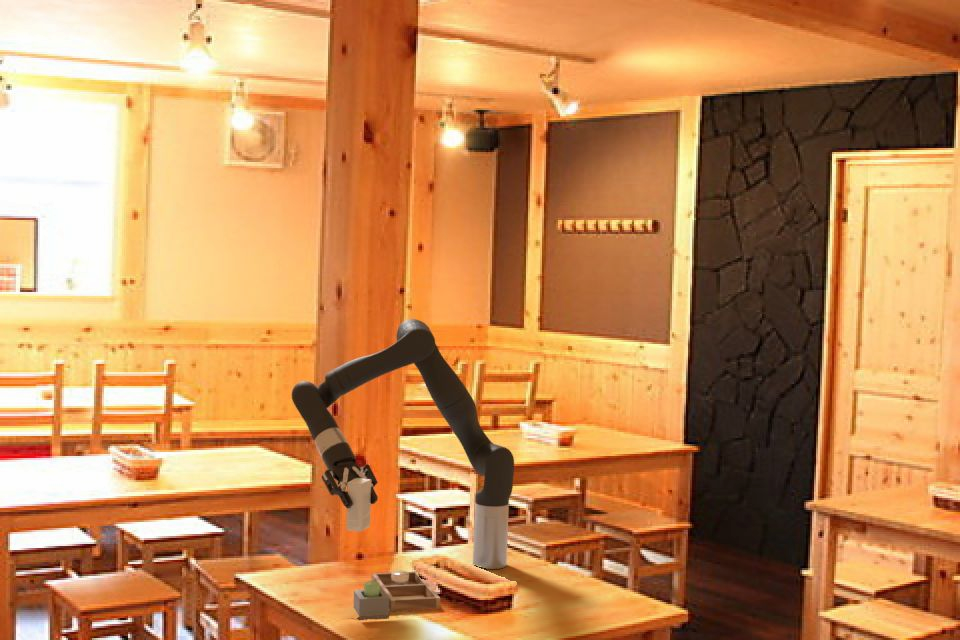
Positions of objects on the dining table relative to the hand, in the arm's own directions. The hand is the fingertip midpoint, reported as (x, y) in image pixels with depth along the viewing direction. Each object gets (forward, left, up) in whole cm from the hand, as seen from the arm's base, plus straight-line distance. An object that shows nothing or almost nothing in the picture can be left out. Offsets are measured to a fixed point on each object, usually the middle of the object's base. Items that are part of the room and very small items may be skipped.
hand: (362, 504), depth 296 cm
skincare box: (-1, -1, -7) cm, 7 cm away
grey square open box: (+15, 0, -23) cm, 27 cm away
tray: (+4, +10, -23) cm, 26 cm away
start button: (+15, 0, -20) cm, 25 cm away
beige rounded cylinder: (-1, +10, -22) cm, 24 cm away
